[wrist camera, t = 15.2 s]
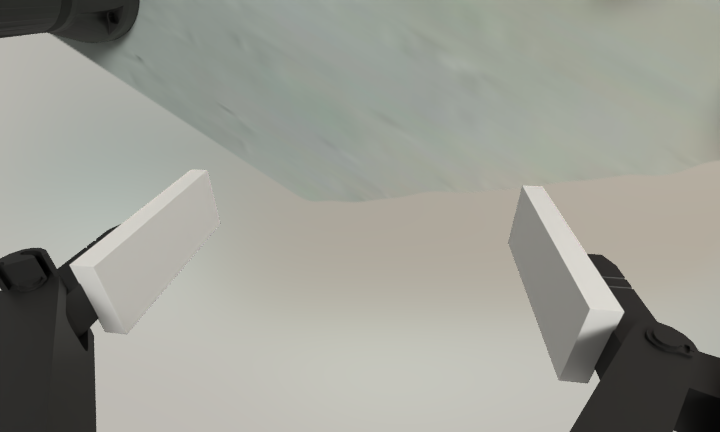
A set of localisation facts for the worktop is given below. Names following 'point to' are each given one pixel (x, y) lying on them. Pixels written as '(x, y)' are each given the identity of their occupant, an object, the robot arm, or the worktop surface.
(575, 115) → the worktop surface
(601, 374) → the robot arm
